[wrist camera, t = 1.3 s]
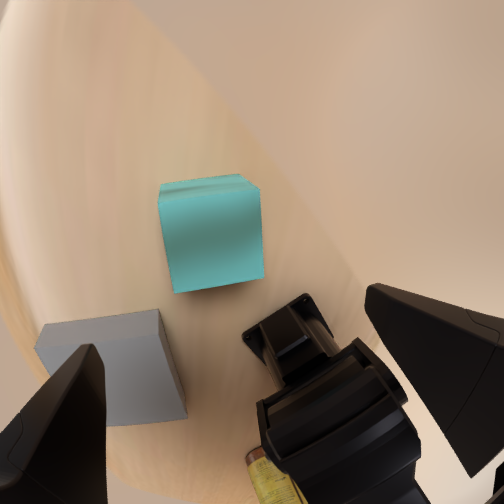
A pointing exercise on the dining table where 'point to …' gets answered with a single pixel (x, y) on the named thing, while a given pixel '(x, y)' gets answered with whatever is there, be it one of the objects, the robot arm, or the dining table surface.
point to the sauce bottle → (271, 481)
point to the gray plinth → (123, 364)
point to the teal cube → (211, 231)
